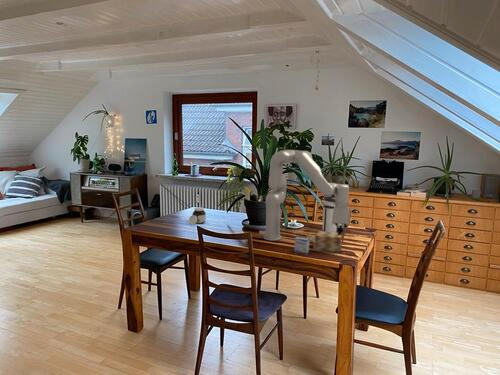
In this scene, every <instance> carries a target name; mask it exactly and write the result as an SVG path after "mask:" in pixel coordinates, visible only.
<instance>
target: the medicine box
mask: <svg viewBox="0 0 500 375" xmlns="http://www.w3.org/2000/svg"><path fill="white" fill-rule="evenodd" d="M293 251H294V253H296V254H297V253H298V254H305V255H308V253H309V251H310V240H309V238H306V237H301V236H296V237H295V238H294V250H293Z"/></svg>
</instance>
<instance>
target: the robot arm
mask: <svg viewBox="0 0 500 375" xmlns="http://www.w3.org/2000/svg"><path fill="white" fill-rule="evenodd" d="M312 155H313V154H312V153H311V152H310V151H308V150H297V149H283V150H279V151H277V152H275V153H274V154H273V155H272V156H271V159H270V163H269V164H270V165H269V174H268V187H269V189H270V190H272V191H271V192H269V193H267V194H266V196H265V230H259V232H258V233H259V234H260V235H263V236H262V238H263V239H264V240H266V241H273V242H274V241H280V240H282V238H283V236H282V235H281V234H280V232H281V204H282V203H283V202H285V200H286V194H287V186H288V184H287V183H288V180H287V178H286V177H285V175H283V172H284V169H283V168H284V167H283V165H284V164H291V163H293V164H298V166H300V168H301V169H302V170H303V171H304V172H305V173H306V175H308V177H309V178H310V180H311V182H312V184H313V185H314V187H315V188H316V189H317V190H318V191H319V192H320V194H321V195H323V196H324V197H325V196H326V197H330V196H332V195H334V194H335V195H336V202H333V204H334V205H335V206H334V209H333V217H332V224H334V225H336V226H337V227H338V233H339V235H342V233H343V227H345V226H346V225H349V226H350V224H351V215H350V211H351V208H350V207H349V200H350V199H349V198H350V197H349V196H350V186H349V184H345V183H342V184H341V183H336V182H328V180H326V178H325V176H324V175H323V174H322V169H321V167H320V166H319V165H318V164H317V163H316V161H314V159H313V156H312ZM349 208H350V209H349ZM349 222H350V223H349ZM339 223H340V225H341V227H340V226H339Z"/></svg>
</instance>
